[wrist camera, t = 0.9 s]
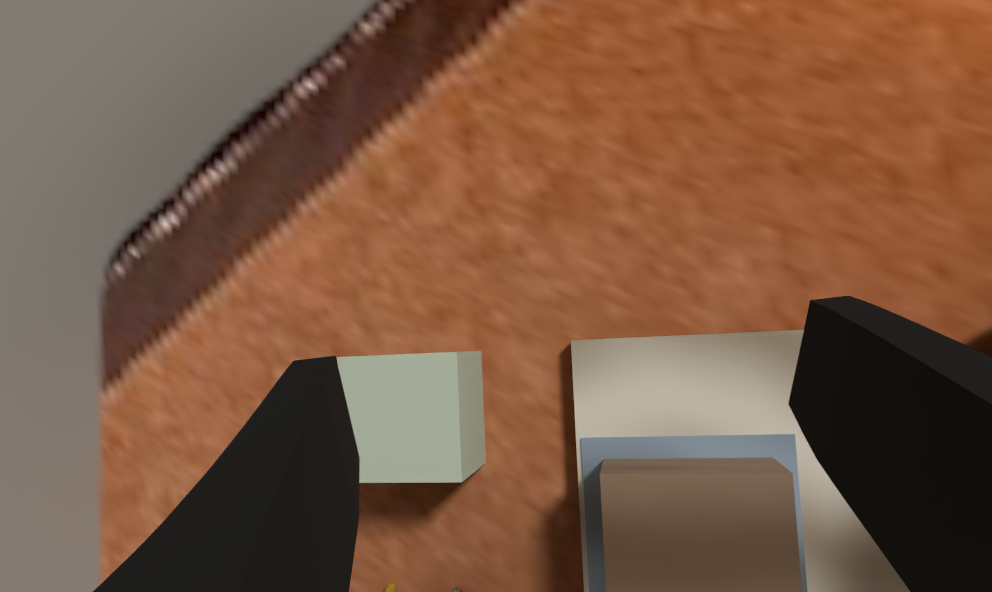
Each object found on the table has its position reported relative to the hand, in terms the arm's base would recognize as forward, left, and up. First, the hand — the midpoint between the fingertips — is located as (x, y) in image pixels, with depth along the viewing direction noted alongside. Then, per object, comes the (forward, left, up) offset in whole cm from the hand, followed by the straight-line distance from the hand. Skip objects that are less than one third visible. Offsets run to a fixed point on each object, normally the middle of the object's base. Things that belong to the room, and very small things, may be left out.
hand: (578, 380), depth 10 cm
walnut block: (-7, -3, -15) cm, 17 cm away
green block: (-2, +7, -16) cm, 18 cm away
